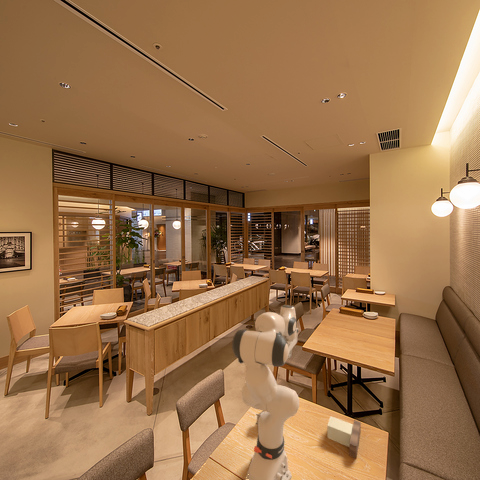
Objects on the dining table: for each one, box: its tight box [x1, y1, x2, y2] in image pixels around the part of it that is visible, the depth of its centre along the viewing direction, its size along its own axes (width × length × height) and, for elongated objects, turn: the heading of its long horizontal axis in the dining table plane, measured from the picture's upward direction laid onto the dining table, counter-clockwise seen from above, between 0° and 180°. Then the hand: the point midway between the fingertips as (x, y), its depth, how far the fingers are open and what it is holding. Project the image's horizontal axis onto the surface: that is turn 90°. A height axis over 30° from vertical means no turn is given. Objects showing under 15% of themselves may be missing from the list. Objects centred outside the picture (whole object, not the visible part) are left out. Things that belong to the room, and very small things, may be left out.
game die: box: [255, 410, 266, 425], centre depth 134 cm, size 9×8×10 cm
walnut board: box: [349, 419, 362, 459], centre depth 122 cm, size 16×3×6 cm, turn 148°
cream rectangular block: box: [326, 415, 354, 448], centre depth 126 cm, size 7×11×7 cm, turn 58°
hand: (288, 356), depth 140 cm, fingers closed
